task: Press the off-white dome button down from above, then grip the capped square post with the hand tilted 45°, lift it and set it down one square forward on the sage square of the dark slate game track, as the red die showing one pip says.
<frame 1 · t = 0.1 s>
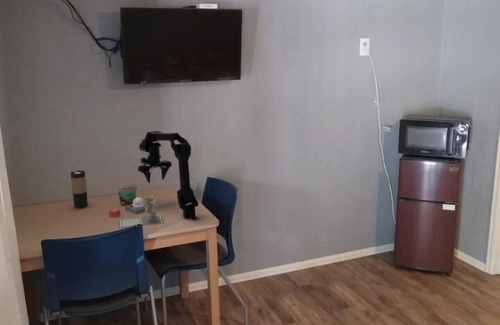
hand: (156, 181, 262), 15 cm above the table, tool pointing down, fingers open, 9 cm apart
dome housing: (138, 211, 258), on the table
dome button: (138, 203, 257), point 5 cm above the table, slide at 0.0 cm
red die: (115, 217, 249), on the table
game track: (141, 223, 240), on the table
travel mug: (81, 206, 266), on the table
capped square post: (151, 220, 241), point 1 cm above the table, touching game track
food container: (130, 203, 271), on the table
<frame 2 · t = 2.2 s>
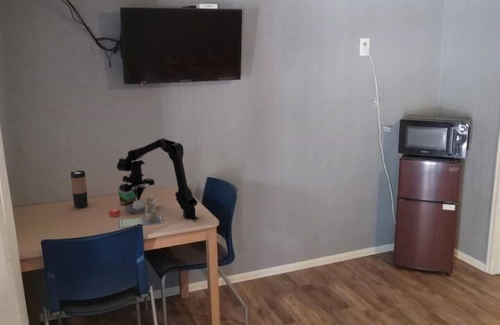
hand: (138, 199, 256), 7 cm above the table, tool pointing down, fingers closed, pressing on dome button
dome button: (138, 205, 257), point 3 cm above the table, slide at 1.3 cm, touching gripper
everything else where it was.
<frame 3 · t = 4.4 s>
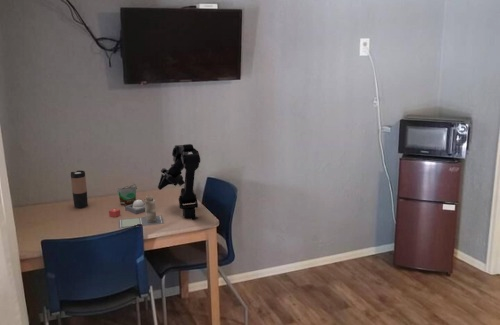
hand: (158, 188, 252), 14 cm above the table, tool tilted 45°, fingers closed
dome button: (138, 205, 257), point 3 cm above the table, slide at 1.3 cm
everything else where it was.
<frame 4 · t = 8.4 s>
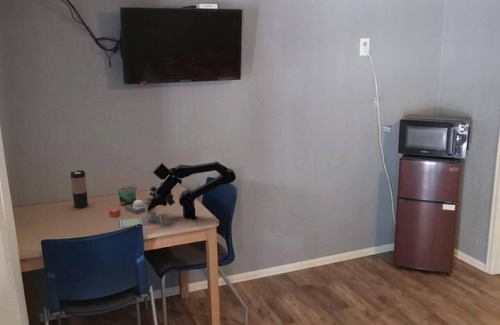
hand: (147, 208, 239), 8 cm above the table, tool tilted 45°, fingers closed on capped square post, 4 cm apart
capped square post: (151, 220, 241), point 1 cm above the table, touching game track, gripper
everything else where it was.
when the fingers open (9 cm above the table, at t = 12.1 s): capped square post stays where it is, resting on game track.
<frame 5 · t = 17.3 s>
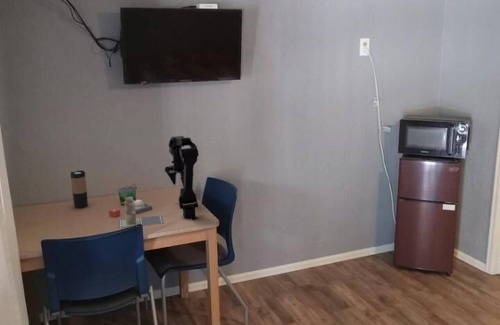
hand: (179, 186, 261), 12 cm above the table, tool pointing down, fingers open, 9 cm apart
capped square post: (130, 222, 238), point 1 cm above the table, touching game track
everything else where it was.
at the end: capped square post 0.1 cm from the target spot, point 1.1 cm above the table; capped square post tilted 0°; dome button slide at 1.3 cm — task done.
